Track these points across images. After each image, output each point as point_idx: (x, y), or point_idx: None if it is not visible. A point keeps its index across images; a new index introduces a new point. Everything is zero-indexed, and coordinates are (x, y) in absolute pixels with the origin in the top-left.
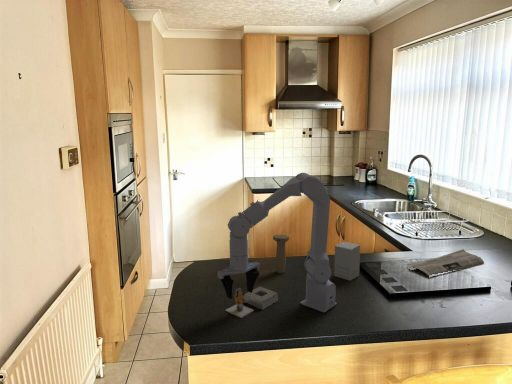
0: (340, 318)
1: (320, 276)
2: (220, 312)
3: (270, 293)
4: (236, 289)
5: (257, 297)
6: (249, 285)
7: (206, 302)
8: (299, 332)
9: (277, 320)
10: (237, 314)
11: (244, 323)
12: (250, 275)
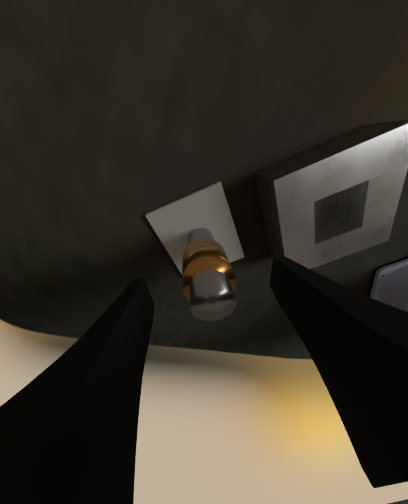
0: None
1: None
2: (122, 215)
3: (365, 233)
4: (197, 299)
5: (295, 244)
6: (294, 305)
7: (39, 38)
8: (266, 348)
9: (263, 311)
10: (179, 264)
11: (182, 301)
12: (361, 409)
